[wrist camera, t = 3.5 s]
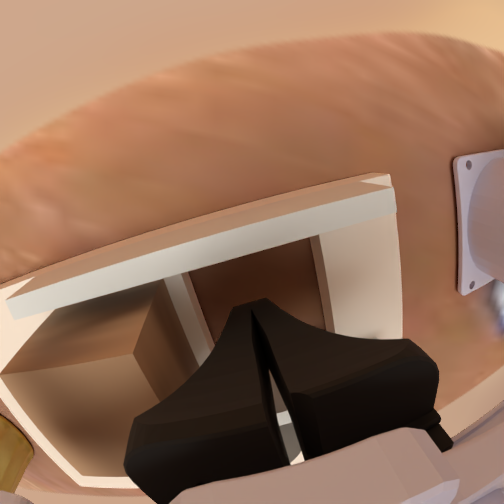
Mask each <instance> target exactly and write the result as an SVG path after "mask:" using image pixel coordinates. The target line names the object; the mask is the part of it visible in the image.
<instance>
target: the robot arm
mask: <svg viewBox="0 0 504 504" xmlns="http://www.w3.org/2000/svg"><path fill="white" fill-rule="evenodd" d="M466 162H467V167H466ZM453 170H454V179H455V188H456V199H457V213H458V236H459V270H458V292H459V293H460V294H461V295H467V294H469V293H471V292H472V291H474V290H476V289H478V288H480V287H481V286H483V285H485V284H487V283H489V282H490V281H492V280H494V279H497V280H499V281H501V282H503V283H504V149H500V150H494V151H487V152H481V153H475V154H469V155H463V156H458V157H456V158H455V159H454V162H453ZM269 370H270V372H271V374H272V377H273V379H274V381H275V384H276V386H277V388H278V390H279V393H280V395H281V397H282V399H283V402H284V404H285V406H286V408H287V410H288V413H289V416H290V418H291V421H292V424H293V427H294V430H295V433H296V436H297V439H298V442H299V445H300V448H301V451H302V454H303V458H304V461H303V462H300V463H297V464H293V465H291V464H290V461H289V457H288V454H287V451H286V447H285V444H284V441H283V437H282V434H281V430H280V427H279V423H278V419H277V414H276V408H275V402H274V396H273V390H272V384H271V378H270V372H269ZM438 383H439V370H438V367H437V364H436V363H435V362H434V361H433V360H432V359H431V358H430V357H429V356H428V355H427V354H426V353H425V352H424V351H423V350H422V349H421V348H420V347H419V346H417V345H416V344H415V343H414V342H412V341H411V340H410V339H367V338H357V337H350V336H345V335H340V334H336V333H332V332H328V331H325V330H322V329H319V328H316V327H313V326H311V325H308V324H306V323H304V322H302V321H300V320H298V319H296V318H295V317H293V316H291V315H290V314H288V313H286V312H285V311H283V310H282V309H280V308H279V307H278V306H276V305H275V304H274V303H272V302H271V301H270V300H269V299H267V298H263V299H260V300H257V301H253V302H250V303H246V304H243V305H239V306H235V307H233V308H232V310H231V312H230V315H229V318H228V320H227V323H226V325H225V327H224V329H223V332H222V334H221V336H220V338H219V340H218V341H217V343H216V345H215V346H214V348H213V350H212V352H211V353H210V355H209V356H208V357H207V359H206V360H205V361H204V362H203V364H202V365H201V366H200V367H199V369H198V370H197V371H196V372H195V373H194V374H193V375H192V376H191V377H190V378H189V379H188V380H187V381H186V382H185V383H184V384H183V385H181V386H180V387H179V388H178V389H177V390H176V391H174V392H173V393H172V394H171V395H169V396H168V397H167V398H165V399H164V400H162V401H161V402H160V403H158V404H157V405H155V406H153V407H152V408H150V409H148V410H147V411H145V412H144V413H142V414H140V415H138V416H137V417H135V418H134V420H133V423H132V426H131V429H130V433H129V438H128V443H127V448H126V453H125V458H124V463H123V466H124V469H125V473H126V474H127V475H128V477H129V478H130V479H131V480H132V482H133V483H135V484H136V485H137V486H138V487H139V488H140V489H141V490H142V491H143V492H144V493H145V494H146V495H148V496H149V497H150V498H151V499H152V500H153V501H154V502H156V503H157V504H504V400H503V401H502V402H500V403H499V404H498V405H497V406H496V407H494V408H493V409H492V410H491V411H489V412H488V413H487V414H485V415H484V416H483V417H481V418H480V419H479V420H477V421H476V422H474V423H473V424H471V425H470V426H469V427H467V428H466V429H464V430H463V431H461V432H460V433H458V434H457V435H456V436H454V437H452V438H450V437H449V436H448V434H447V433H446V432H445V430H444V429H443V428H442V427H441V425H440V424H439V423H440V421H441V417H440V415H439V414H438V413H437V412H436V410H435V409H434V408H433V407H434V403H435V398H436V393H437V388H438ZM0 504H33V503H32V502H30V501H29V500H28V499H26V498H24V497H22V496H19V495H17V494H13V493H10V492H6V491H3V490H1V491H0Z"/></svg>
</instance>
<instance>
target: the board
mask: <svg viewBox="0 0 504 504" xmlns="http://www.w3.org/2000/svg"><path fill="white" fill-rule="evenodd" d="M358 181H359V182H366V183H372V184H378V185H384V186H390V187H392V184H391V178H390V174H382V173H368V174H363V175H358V176H354V177H350V178H345V179H341V180H337V181H332V182H328V183H324V184H320V185H316V186H311V187H307V188H303V189H299V190H295V191H291V192H287V193H283V194H280V195H276V196H272V197H268V198H264V199H260V200H257V201H253V202H249V203H246V204H242V205H238V206H235V207H231V208H227V209H224V210H220V211H217V212H213V213H210V214H206V215H203V216H199V217H196V218H193V219H189V220H186V221H183V222H179V223H176V224H173V225H169V226H166V227H163V228H160V229H156V230H153V231H150V232H147V233H144V234H140V235H137V236H134V237H131V238H128V239H125V240H122V241H119V242H116V243H113V244H110V245H107V246H104V247H101V248H98V249H95V250H92V251H89V252H86V253H83V254H81V255H78V256H75V257H72V258H69V259H66V260H64V261H61V262H58V263H55V264H53V265H50V266H47V267H44V268H42V269H39V270H36V271H34V272H31V273H28V274H26V275H23V276H21V277H18V278H15V279H13V280H10V281H8V282H5V283H3V284H0V373H1V371H2V370H3V369H4V367H5V366H6V365H7V364H8V363H9V361H10V360H11V359H12V358H13V356H14V355H15V354H16V353H17V352H18V350H19V349H20V348H21V347H22V346H23V344H24V343H25V342H26V341H27V340H28V339H29V337H30V336H31V335H32V334H33V333H34V332H35V331H36V330H37V328H38V327H39V326H40V325H41V324H42V323H43V322H44V321H45V320H46V318H47V317H48V316H49V315H50V314H51V313H52V312H53V311H54V310H55V309H53V310H49V311H46V312H42V313H39V314H35V315H32V316H28V317H25V318H21V319H17V320H14V319H13V317H12V314H11V312H10V310H9V308H8V306H7V304H6V302H5V300H6V299H7V298H8V297H10V296H11V295H12V294H13V293H15V292H16V291H17V290H19V289H20V288H21V287H22V286H24V285H25V284H26V283H28V282H29V281H30V280H32V279H33V278H34V277H36V276H38V275H41V274H43V273H46V272H49V271H52V270H55V269H57V268H60V267H63V266H66V265H69V264H72V263H75V262H78V261H80V260H83V259H86V258H89V257H92V256H95V255H98V254H101V253H104V252H107V251H110V250H113V249H116V248H120V247H123V246H126V245H129V244H132V243H135V242H138V241H142V240H145V239H148V238H151V237H154V236H158V235H161V234H164V233H167V232H171V231H174V230H177V229H181V228H184V227H187V226H191V225H194V224H198V223H201V222H204V221H208V220H211V219H215V218H218V217H222V216H225V215H229V214H233V213H236V212H240V211H243V210H247V209H251V208H254V207H258V206H262V205H266V204H269V203H273V202H277V201H281V200H285V199H288V198H292V197H296V196H300V195H304V194H308V193H312V192H316V191H320V190H324V189H328V188H332V187H337V186H341V185H345V184H349V183H353V182H358ZM309 238H310V243H311V248H312V253H313V258H314V263H315V269H316V274H317V279H318V285H319V290H320V296H321V302H322V308H323V314H324V320H325V326H326V331H328V332H332V333H336V334H340V335H345V336H350V337H357V338H367V339H373V338H375V337H377V338H378V339H402V281H401V264H400V251H399V239H398V229H397V220H396V213H392V214H389V215H385V216H382V217H378V218H375V219H371V220H367V221H364V222H360V223H357V224H353V225H350V226H346V227H343V228H339V229H336V230H332V231H329V232H325V233H322V234H318V235H315V236H311V237H309ZM163 279H164V281H165V284H166V287H167V289H168V292H169V295H170V297H171V300H172V302H173V305H174V308H175V310H176V313H177V315H178V318H179V320H180V322H181V325H182V327H183V330H184V332H185V335H186V337H187V339H188V342H189V344H190V346H191V349H192V351H193V353H194V356H195V358H196V360H197V362H198V365H199V367H200V366H201V365H202V364H203V362H204V361H205V360H206V359H207V357H208V356H209V355H210V353H211V352H212V350H213V348H214V346H215V345H214V342H213V339H212V337H211V334H210V332H209V329H208V326H207V324H206V321H205V318H204V316H203V313H202V310H201V307H200V305H199V302H198V299H197V296H196V293H195V291H194V288H193V285H192V282H191V279H190V276H189V273H188V272H184V273H181V274H177V275H174V276H170V277H167V278H163ZM269 372H270V370H269ZM270 374H271V372H270ZM0 398H1V399H2V401H3V402H4V403H5V405H6V406H7V407H8V409H9V410H10V411H11V413H12V414H13V415H14V417H15V418H16V419H17V420H18V422H19V423H20V424H21V425H22V426H23V428H24V429H25V430H26V431H27V432H28V434H29V435H30V436H31V437H32V438H33V439H34V441H35V442H36V443H37V444H38V445H39V446H40V447H41V448H42V449H43V450H44V452H45V453H46V454H47V455H48V456H49V457H50V458H51V459H52V460H53V461H54V462H55V463H56V464H57V465H58V466H59V467H60V468H61V469H62V470H63V471H64V472H65V473H66V474H67V475H69V476H70V477H71V478H72V479H73V480H74V481H75V482H76V483H77V484H78V485H80V486H85V487H100V488H139V487H138V486H137V485H136V484H135V483H133V482H132V480H131V479H130V478H129V477H94V476H82V475H81V474H80V473H79V472H78V471H77V470H76V469H75V468H74V467H73V466H72V465H71V464H70V463H69V462H68V461H67V460H66V459H65V458H64V457H63V456H62V455H61V454H60V453H59V452H58V451H57V450H56V449H55V448H54V447H53V445H52V444H51V443H50V442H49V441H48V440H47V439H46V438H45V436H44V435H43V434H42V433H41V432H40V431H39V429H38V428H37V427H36V426H35V425H34V423H33V422H32V421H31V420H30V418H29V417H28V416H27V415H26V413H25V412H24V411H23V409H22V408H21V407H20V405H19V404H18V403H17V401H16V400H15V398H14V397H13V396H12V394H11V393H10V391H9V390H8V388H7V387H6V385H5V384H4V382H3V381H2V379H1V378H0ZM303 461H304V458H303V454H302V451H301V452H300V454H299V455H298V456H297V457H296V458H295V459H294V460H293V461H292V462H291V463H290V464H291V465H293V464H297V463H300V462H303Z"/></svg>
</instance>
